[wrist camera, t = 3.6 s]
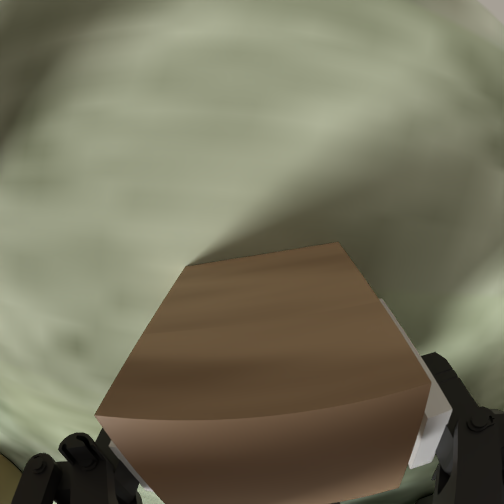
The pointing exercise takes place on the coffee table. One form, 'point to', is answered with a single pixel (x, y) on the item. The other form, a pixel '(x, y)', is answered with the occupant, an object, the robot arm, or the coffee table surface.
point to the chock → (269, 385)
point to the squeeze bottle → (8, 480)
